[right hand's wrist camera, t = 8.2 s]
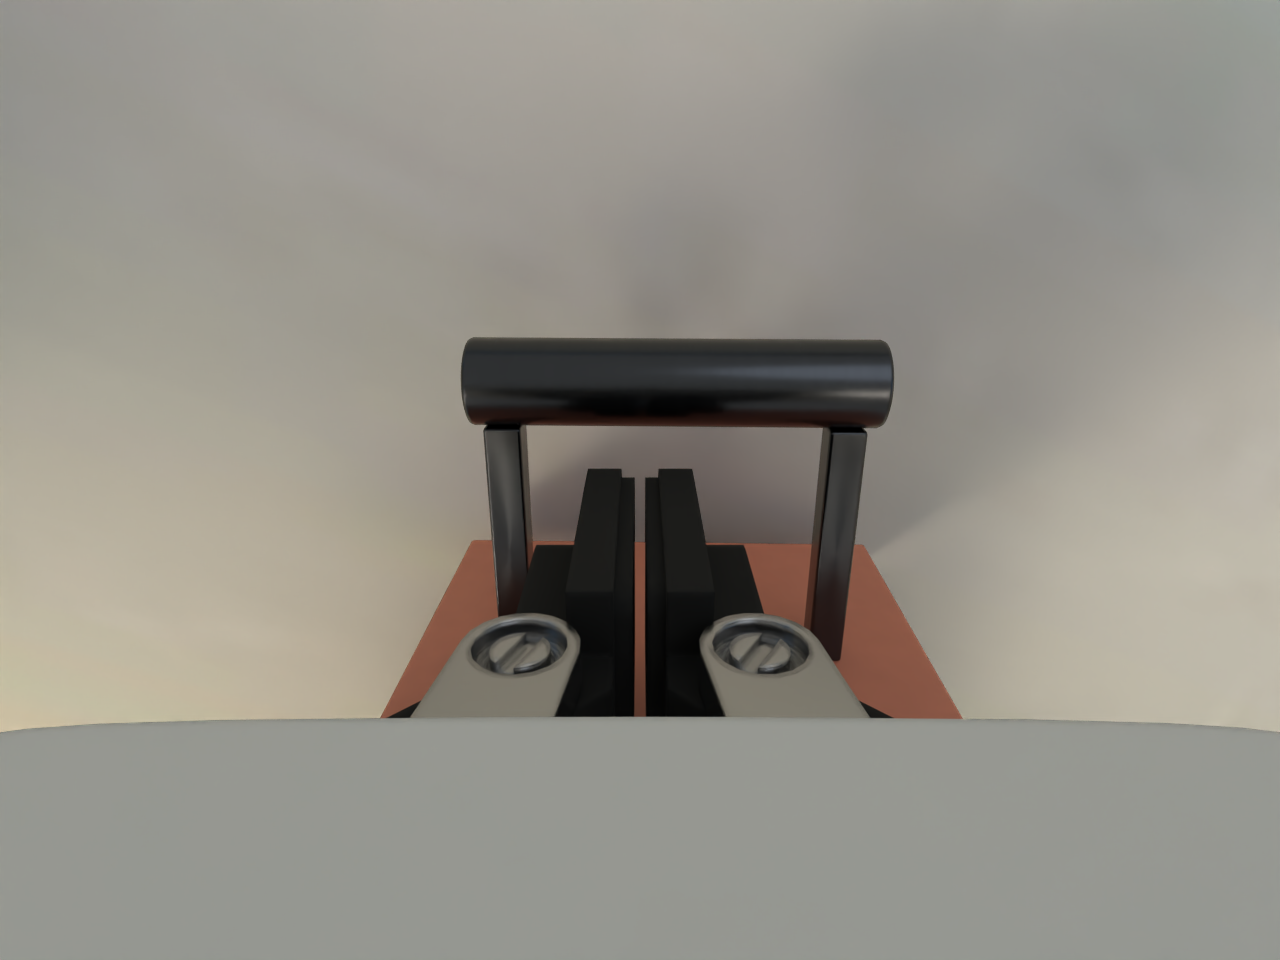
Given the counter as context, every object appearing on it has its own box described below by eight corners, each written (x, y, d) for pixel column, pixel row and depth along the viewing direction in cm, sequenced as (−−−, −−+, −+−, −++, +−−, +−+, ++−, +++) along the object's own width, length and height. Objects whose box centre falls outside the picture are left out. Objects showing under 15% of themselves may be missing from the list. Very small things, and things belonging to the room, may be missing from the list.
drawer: (449, 296, 16) (250, 405, 8) (894, 299, 16) (1127, 413, 8) (516, 1043, 25) (451, 1437, 17) (801, 1050, 25) (867, 1451, 17)
